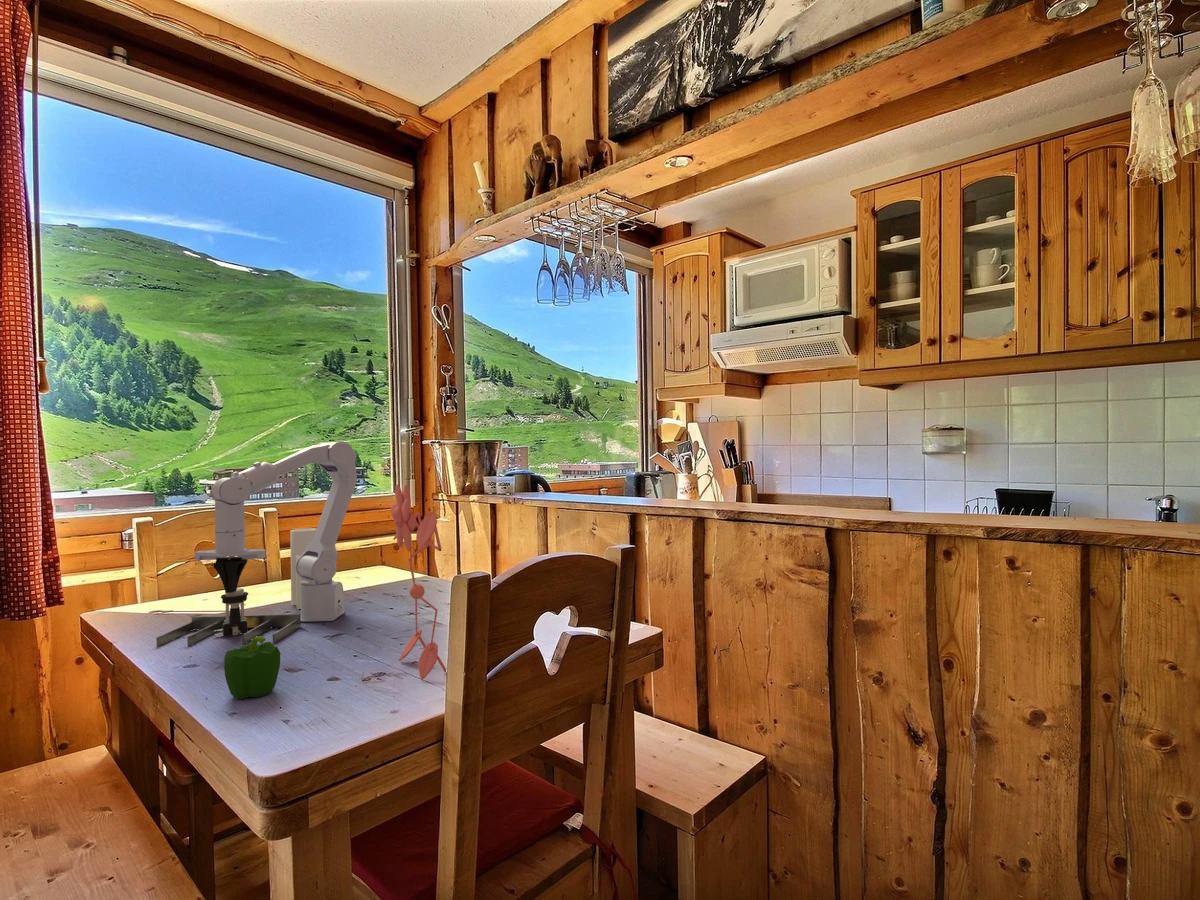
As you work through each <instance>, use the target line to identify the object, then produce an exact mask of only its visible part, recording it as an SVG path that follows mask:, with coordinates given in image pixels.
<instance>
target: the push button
mask: <svg viewBox="0 0 1200 900" xmlns="http://www.w3.org/2000/svg"><path fill="white" fill-rule="evenodd" d="M248 596H249V592H248V591H247V592H246V591H245V589H244V588H240V587H239V588H238V587H237V590H236V591H235V592H232V593H224V594H221V595H220V599H222V601H221V602H222V604H224V605H225V616H226V620H225V621H224V622H225V623H224V624H223V629H220V630H214V631H217V632H220V631H222V632H221V633H214V636H221V635H222V636H223V637H224V636H226V637H230V636H229V635H233V636H237V635H238V634H239V635H241V634H240V633H243V634H244V633H247V632H248V629H247V621H246V620H245V619H246V618H245V617H244V615H245V602H246V601H247V600H248ZM240 615H241V619H240ZM229 616H230V622H229ZM241 620H242V621H241ZM226 622H229V623H226ZM243 634H242V635H243ZM239 635H238V636H239Z"/></svg>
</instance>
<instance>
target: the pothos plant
mask: <svg viewBox="0 0 1200 900" xmlns="http://www.w3.org/2000/svg"><path fill="white" fill-rule="evenodd" d="M394 490H395V491H394V496H395V497H394V498H395V502H393V503H392V505H391V507H390V513H391V516H392V519H393V521H394V522H393V523H394V525H395V536H394V537H393V539H392V540H393V541H395V540H396V543H397V546H398V547H399V548H402V547H403V543H404V544H405V545H404V546H405V547H406V550H407V551H408V552H411V550H412V541H413V540H412V538H413V537H412V533H411V532H413V531H415V529H416V528H417V530H416V534H415V535H416V536H415V539H416V542H417V545H418V546H419V549H418V550H416V551H415V552H414V553H412V554H411V555H409V558H408V563H409V568H410V574H411V579H412V583H413V585H412V586H411V587H410V589H409V595H410V597H411V598H412V599H414V603H415V605H414V607H415V608H414V609H415V610H414V611H415V612H414V613H415V633H414V634H413V635H412V637H411V638H410V639H409V641H408V642H407V644H406V646H405V647H404V649H403V651H402V652H401V654H400V657H399V659H398V661H399V662H401V661H402V660H403V659H405V658H406V657H407V656H408V655H409V654H410V653H411V652H412V650H413V648H414V647H415V646H416V644H417V642H418V641H419V642H420V644H421V646H422V647H420V648H419V650H422V652H421V654H420V657H419V660H418V673H419V676H420V681H424V679H425V678H426V677H427V676H428V675H429V674H430V672H431V671H432V670H433V668H434V667H435V665H436V663H437V662H438V663H439V665H440V668H441V669H442V670H443V672H444V673H445V672H446V669H447V668H446V666H445V665H444V663H443V661H442V659H441V658H440V656H439V645H438V644H437V643H436V642H435V641H434V634H435V629H436V624H437V616H438V609H437V608H436V607H435V606H433V604H432V603H430V602H429V601H427V600H426V599H425V598H423V596H425V592H426V591H425V588H424V586H423V585H421V584H417V583H416V578H415V573H414V568H413V567H414V566H413V560H412V559H413V558H414V557H415V556H417V555H418V554H420V553H422V551H424V550H425V549H427V548H428V547H431V548H433V549H435V550H437V551H439V552H442V545H441V539H440V536H439V532H438V531H439V530H438V528H437V524H438V519H437V515H436V513H435V512H434V511H430V512H429V513H428V514H427V515H426V516H425V517H424V518H423V519H421V512H419V511H417V512H416V513H415V514H414V513H413V511H412V509H411V507H412V503H411V501H412V500H411V492H410V487H409V486H408V485H407V484H404V486H403V491H402V488H401V487H400V486H399V484H397V483H396V485H395V489H394ZM417 520H418V521H417ZM433 535H435V536H434V537H435V541H436V544H437V545H435V544H434V541H433V540H431V538H432V536H433ZM418 599H420V600H421V601H422V602H424V603H425V604H426V605H428V606H429V607H430V608H432V609H433V610H434V618H433V623H432V630H431V638H430V642H429V643H428V644H426V642H425V641H424V640H423V638H422V636H421V635H422V632H423V631H422V629H418Z"/></svg>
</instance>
